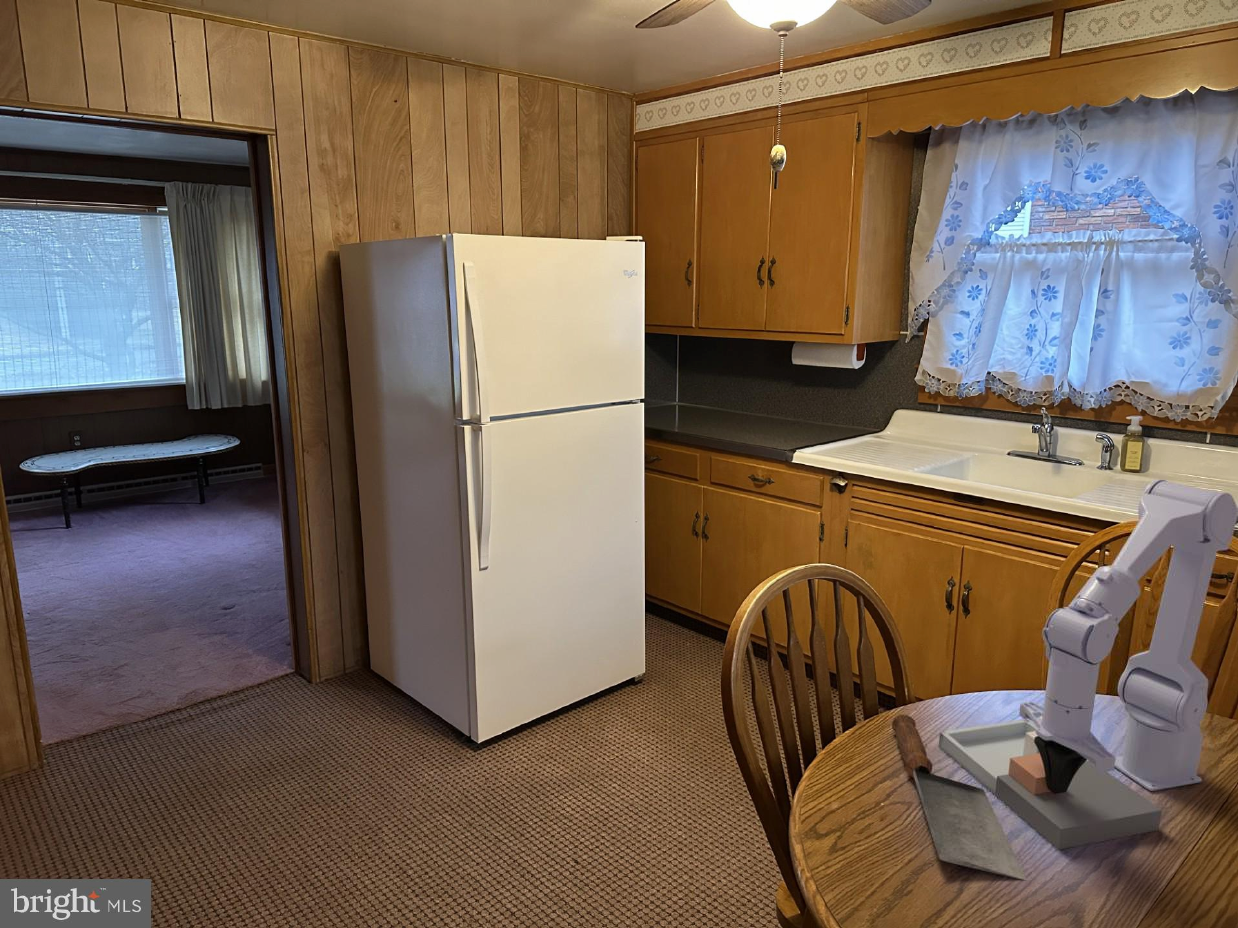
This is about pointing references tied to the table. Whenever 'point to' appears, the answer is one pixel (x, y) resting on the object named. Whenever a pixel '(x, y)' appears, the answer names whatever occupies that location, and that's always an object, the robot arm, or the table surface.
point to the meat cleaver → (956, 812)
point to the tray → (987, 748)
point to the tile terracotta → (1029, 772)
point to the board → (1082, 809)
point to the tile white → (1030, 744)
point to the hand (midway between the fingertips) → (1056, 789)
